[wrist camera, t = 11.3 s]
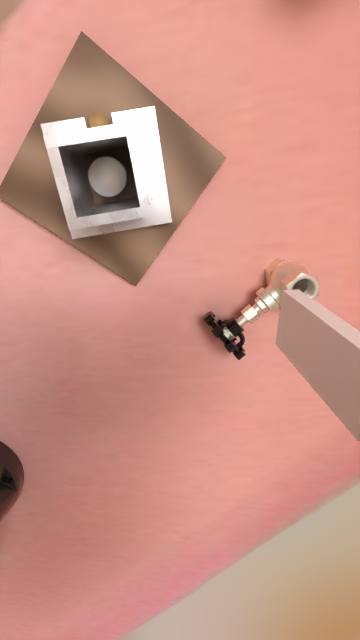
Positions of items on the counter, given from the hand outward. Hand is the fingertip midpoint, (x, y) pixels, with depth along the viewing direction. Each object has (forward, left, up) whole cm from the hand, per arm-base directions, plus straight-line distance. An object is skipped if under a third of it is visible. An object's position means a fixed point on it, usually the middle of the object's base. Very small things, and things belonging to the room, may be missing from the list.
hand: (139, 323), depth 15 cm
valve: (+2, -15, -25) cm, 29 cm away
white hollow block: (+3, +5, -23) cm, 23 cm away
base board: (+3, +5, -24) cm, 25 cm away
